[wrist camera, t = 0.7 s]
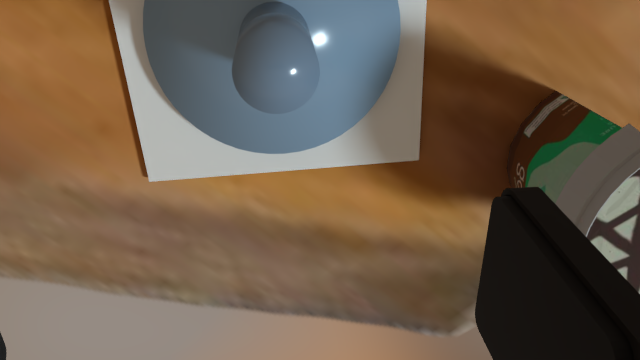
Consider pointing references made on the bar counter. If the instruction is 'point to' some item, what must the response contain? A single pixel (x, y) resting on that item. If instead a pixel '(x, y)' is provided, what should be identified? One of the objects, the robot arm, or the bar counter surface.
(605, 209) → the food container
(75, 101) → the bar counter surface
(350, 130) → the mat
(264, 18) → the lid
